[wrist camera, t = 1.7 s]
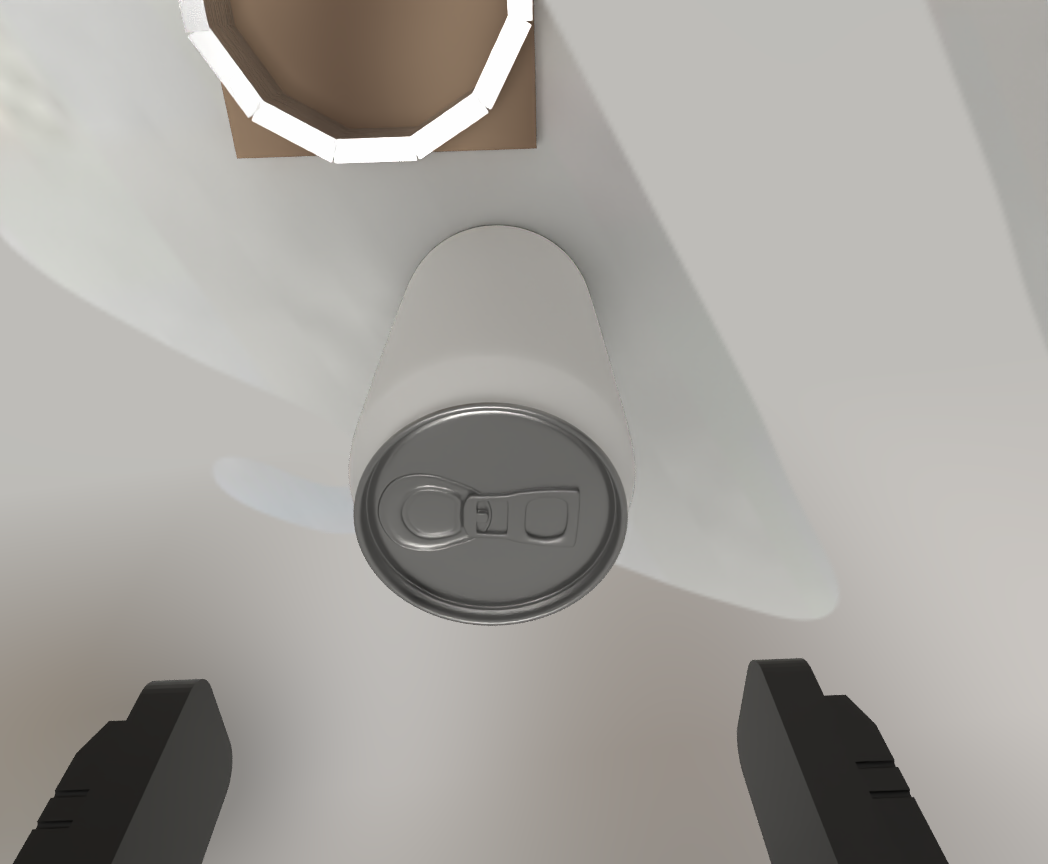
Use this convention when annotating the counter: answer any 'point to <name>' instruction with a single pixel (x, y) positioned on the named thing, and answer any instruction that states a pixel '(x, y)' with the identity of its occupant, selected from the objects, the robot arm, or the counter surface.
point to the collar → (319, 134)
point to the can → (493, 436)
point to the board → (384, 67)
